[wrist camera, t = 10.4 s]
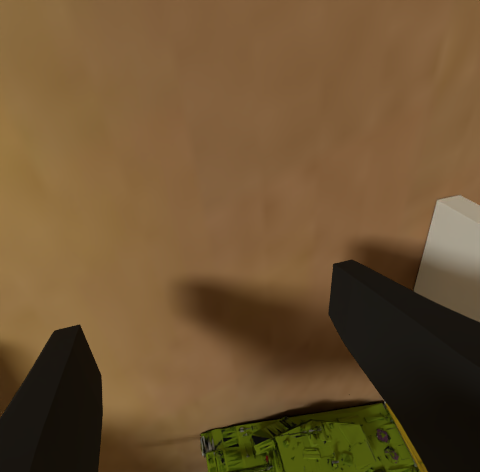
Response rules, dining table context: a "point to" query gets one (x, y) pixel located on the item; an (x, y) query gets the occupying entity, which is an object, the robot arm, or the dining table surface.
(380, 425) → the toy tank
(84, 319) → the dining table surface
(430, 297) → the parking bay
